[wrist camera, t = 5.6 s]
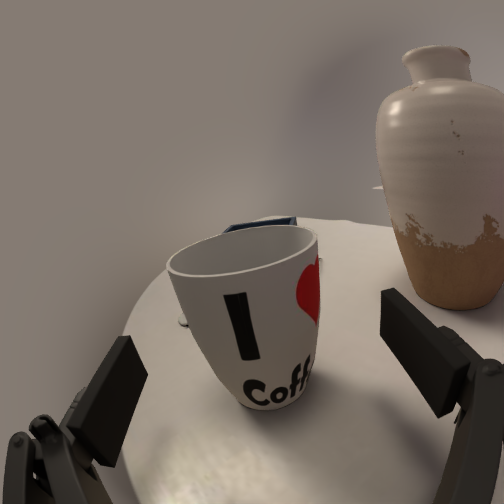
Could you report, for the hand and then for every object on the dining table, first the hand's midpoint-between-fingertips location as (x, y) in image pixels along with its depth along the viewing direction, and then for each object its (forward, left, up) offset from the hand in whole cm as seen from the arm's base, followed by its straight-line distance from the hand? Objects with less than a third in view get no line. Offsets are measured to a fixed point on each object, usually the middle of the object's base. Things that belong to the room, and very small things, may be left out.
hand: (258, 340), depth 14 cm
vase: (+17, +14, -6) cm, 23 cm away
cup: (-1, +3, -6) cm, 7 cm away
